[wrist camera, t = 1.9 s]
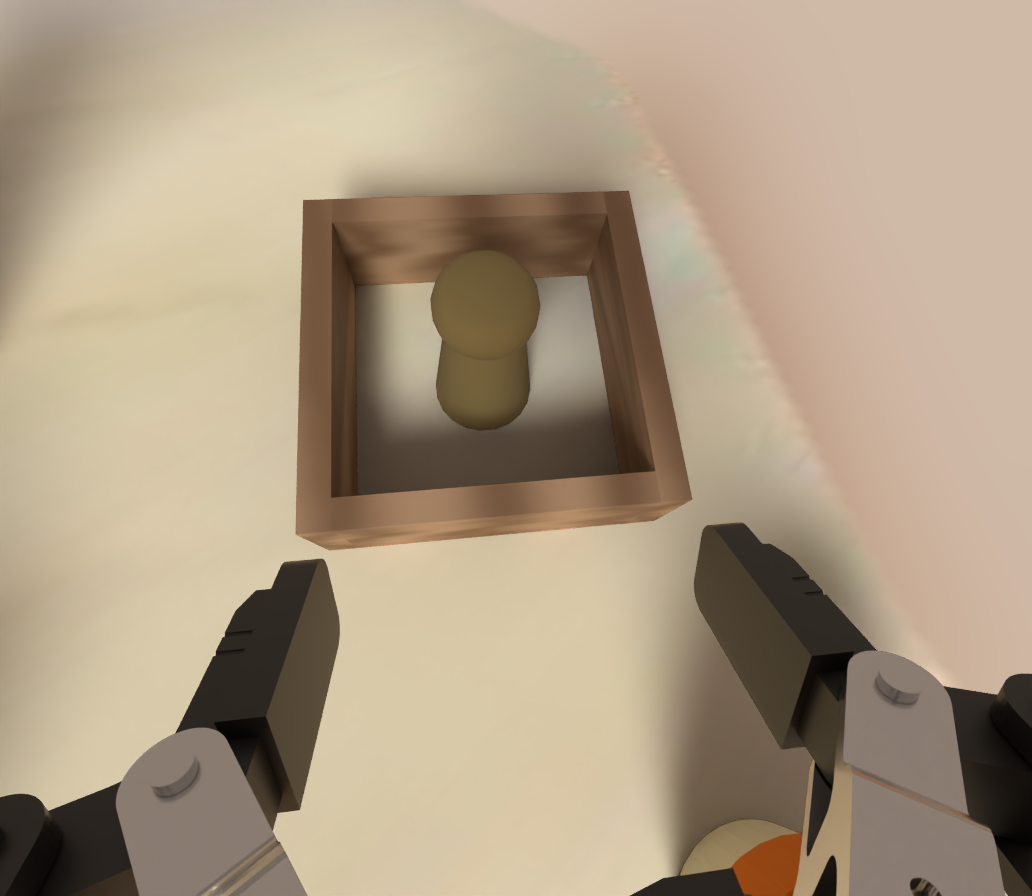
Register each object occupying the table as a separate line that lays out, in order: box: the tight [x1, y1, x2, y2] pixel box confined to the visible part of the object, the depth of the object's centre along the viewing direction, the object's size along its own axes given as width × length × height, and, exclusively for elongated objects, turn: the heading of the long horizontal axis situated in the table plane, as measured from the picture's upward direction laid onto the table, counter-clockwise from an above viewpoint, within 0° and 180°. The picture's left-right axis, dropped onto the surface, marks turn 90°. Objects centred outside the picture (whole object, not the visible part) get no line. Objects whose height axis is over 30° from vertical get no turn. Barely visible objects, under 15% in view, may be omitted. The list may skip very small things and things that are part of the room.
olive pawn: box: [431, 250, 540, 431], centre depth 29 cm, size 6×6×11 cm
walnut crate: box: [296, 191, 692, 550], centre depth 31 cm, size 19×19×6 cm
